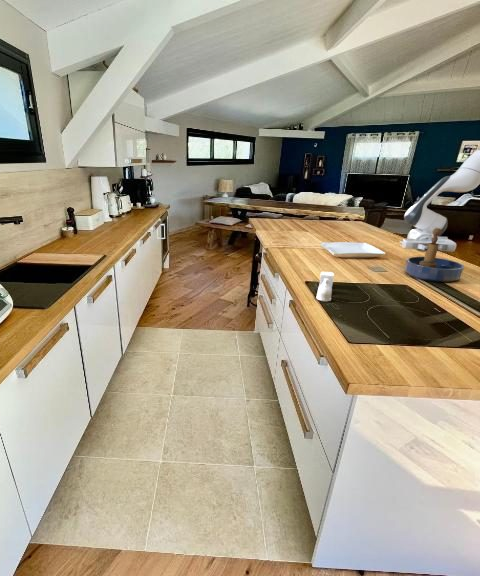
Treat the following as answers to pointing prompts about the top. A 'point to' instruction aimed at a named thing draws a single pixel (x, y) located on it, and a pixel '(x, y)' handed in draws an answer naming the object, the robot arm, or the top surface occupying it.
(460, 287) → the top surface
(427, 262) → the mortar and pestle
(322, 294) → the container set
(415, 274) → the bowl
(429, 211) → the robot arm
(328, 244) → the square plate
